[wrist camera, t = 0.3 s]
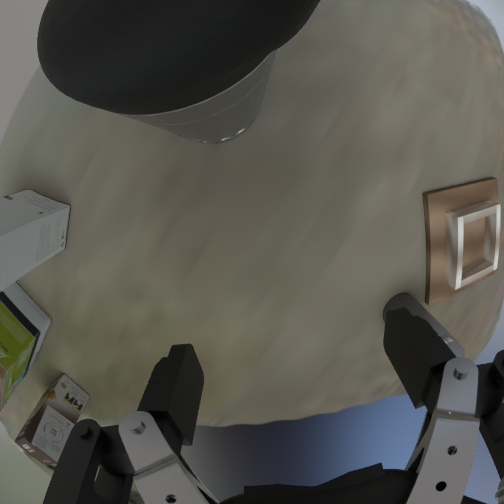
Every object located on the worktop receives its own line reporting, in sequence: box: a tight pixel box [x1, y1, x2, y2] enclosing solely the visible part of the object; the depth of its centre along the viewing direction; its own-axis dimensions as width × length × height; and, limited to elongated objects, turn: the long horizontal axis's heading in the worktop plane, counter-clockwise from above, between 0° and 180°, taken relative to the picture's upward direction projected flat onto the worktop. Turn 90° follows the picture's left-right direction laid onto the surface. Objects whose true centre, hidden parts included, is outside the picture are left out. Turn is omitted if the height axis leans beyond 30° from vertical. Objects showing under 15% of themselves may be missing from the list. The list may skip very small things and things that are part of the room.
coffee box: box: [15, 374, 90, 464], centre depth 28 cm, size 9×6×16 cm
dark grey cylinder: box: [383, 293, 465, 357], centre depth 26 cm, size 5×5×12 cm
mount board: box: [423, 178, 500, 305], centre depth 27 cm, size 15×15×4 cm
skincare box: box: [0, 190, 70, 292], centre depth 19 cm, size 8×6×15 cm
